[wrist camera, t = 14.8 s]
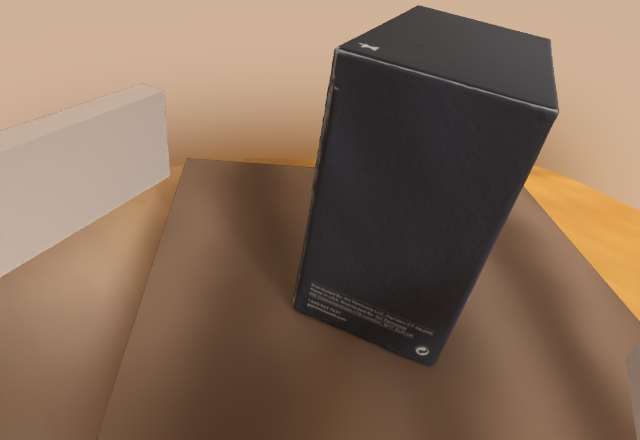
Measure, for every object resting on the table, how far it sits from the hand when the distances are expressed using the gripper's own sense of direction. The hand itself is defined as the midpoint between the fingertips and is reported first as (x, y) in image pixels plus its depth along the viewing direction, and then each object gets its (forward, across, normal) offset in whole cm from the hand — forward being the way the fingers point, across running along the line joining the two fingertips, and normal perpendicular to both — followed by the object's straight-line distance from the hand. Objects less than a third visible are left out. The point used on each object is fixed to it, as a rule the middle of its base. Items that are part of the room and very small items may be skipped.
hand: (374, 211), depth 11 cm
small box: (+8, 0, -8) cm, 11 cm away
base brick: (+8, 0, -12) cm, 14 cm away
